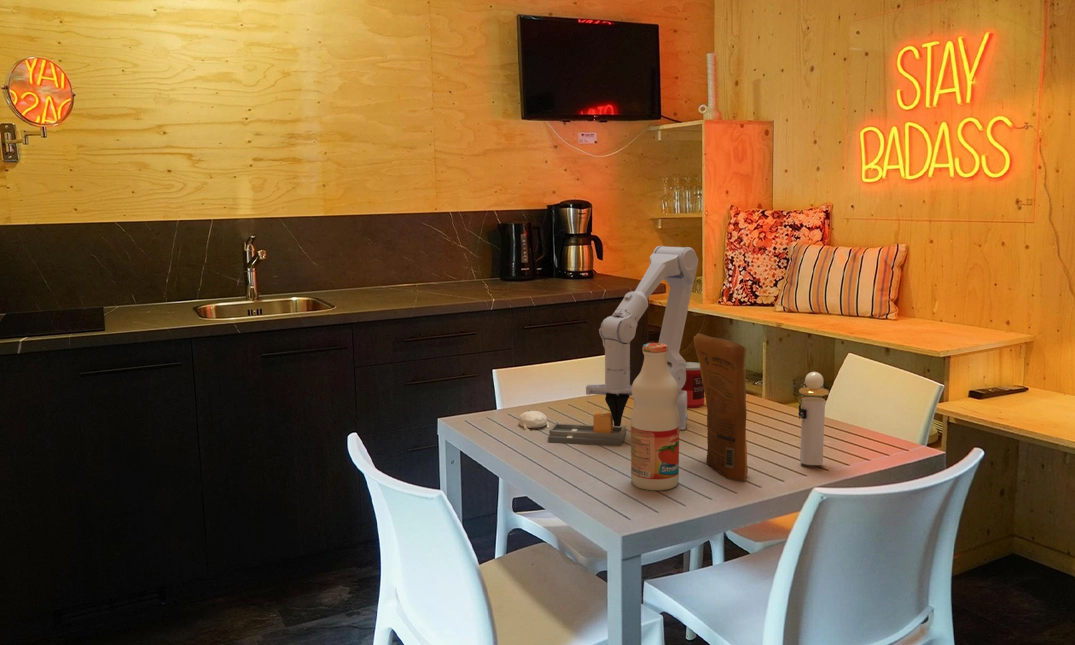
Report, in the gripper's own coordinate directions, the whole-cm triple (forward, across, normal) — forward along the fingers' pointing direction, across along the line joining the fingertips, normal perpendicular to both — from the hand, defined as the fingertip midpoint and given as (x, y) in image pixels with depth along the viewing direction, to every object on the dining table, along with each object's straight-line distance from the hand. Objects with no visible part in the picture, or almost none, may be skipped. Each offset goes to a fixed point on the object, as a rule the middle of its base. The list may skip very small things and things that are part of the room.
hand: (617, 425), depth 196 cm
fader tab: (+2, -3, 0) cm, 4 cm away
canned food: (+4, +15, +35) cm, 38 cm away
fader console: (+3, -7, 0) cm, 7 cm away
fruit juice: (+4, +11, -28) cm, 30 cm away
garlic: (+4, -22, +8) cm, 24 cm away
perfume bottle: (+4, +42, -11) cm, 44 cm away
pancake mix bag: (+4, +24, -17) cm, 30 cm away
